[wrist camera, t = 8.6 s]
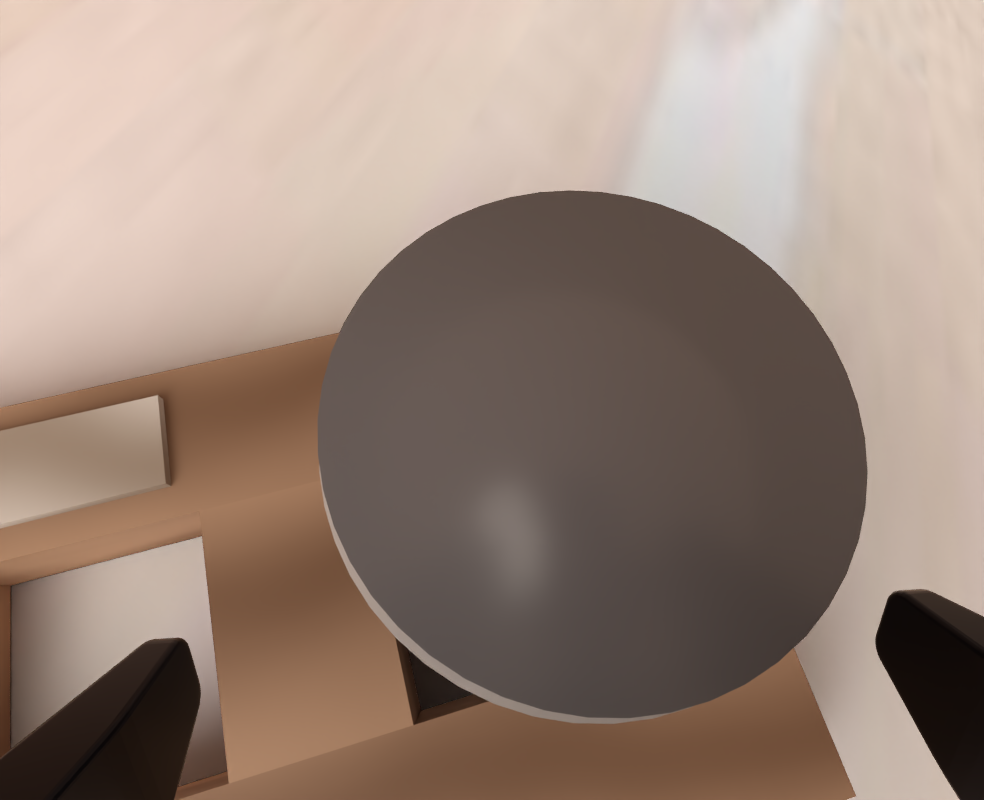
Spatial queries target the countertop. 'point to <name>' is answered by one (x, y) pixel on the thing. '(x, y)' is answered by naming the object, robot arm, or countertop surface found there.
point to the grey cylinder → (590, 457)
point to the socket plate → (337, 613)
